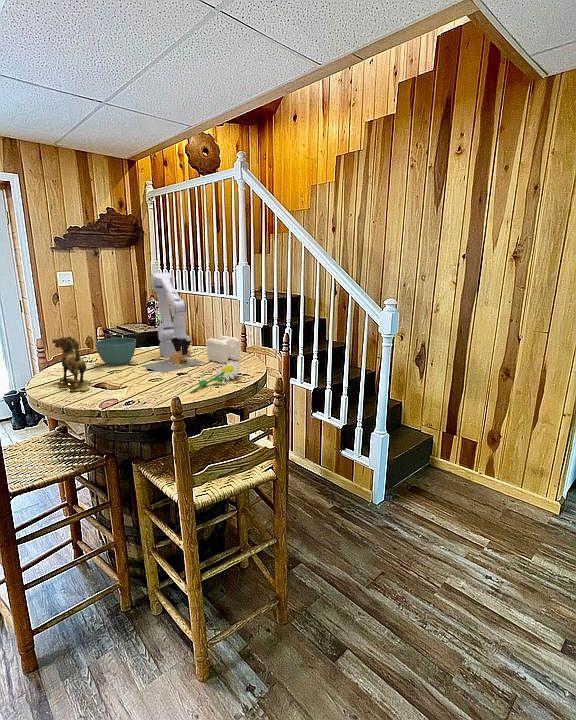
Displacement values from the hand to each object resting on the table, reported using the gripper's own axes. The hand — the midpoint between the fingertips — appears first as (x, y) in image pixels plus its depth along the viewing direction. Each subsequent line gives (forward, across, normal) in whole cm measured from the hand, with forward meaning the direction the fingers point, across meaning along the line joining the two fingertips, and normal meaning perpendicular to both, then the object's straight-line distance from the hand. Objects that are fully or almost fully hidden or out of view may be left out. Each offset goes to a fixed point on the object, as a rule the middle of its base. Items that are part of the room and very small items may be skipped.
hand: (181, 353), depth 199 cm
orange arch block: (+5, 0, 0) cm, 5 cm away
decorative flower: (+6, +36, -9) cm, 37 cm away
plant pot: (+6, -24, -20) cm, 32 cm away
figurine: (+6, -7, -48) cm, 49 cm away
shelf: (+6, 0, -5) cm, 8 cm away
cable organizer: (+6, +9, +18) cm, 21 cm away
